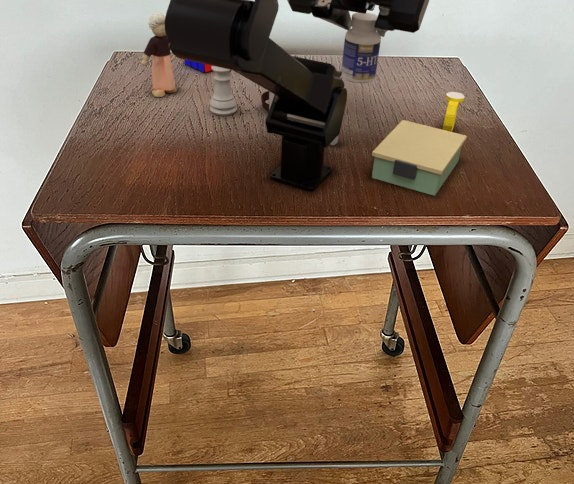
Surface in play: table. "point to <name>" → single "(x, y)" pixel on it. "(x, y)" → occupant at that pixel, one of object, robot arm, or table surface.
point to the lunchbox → (417, 156)
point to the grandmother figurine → (159, 57)
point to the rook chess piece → (222, 93)
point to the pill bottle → (361, 49)
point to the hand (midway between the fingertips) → (366, 30)
